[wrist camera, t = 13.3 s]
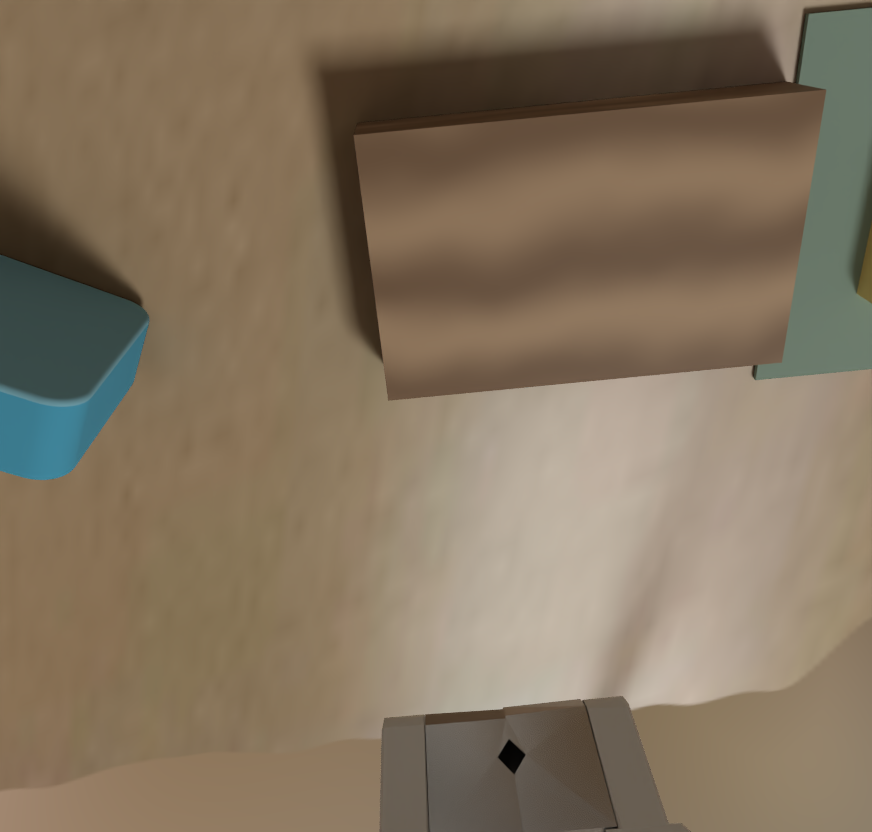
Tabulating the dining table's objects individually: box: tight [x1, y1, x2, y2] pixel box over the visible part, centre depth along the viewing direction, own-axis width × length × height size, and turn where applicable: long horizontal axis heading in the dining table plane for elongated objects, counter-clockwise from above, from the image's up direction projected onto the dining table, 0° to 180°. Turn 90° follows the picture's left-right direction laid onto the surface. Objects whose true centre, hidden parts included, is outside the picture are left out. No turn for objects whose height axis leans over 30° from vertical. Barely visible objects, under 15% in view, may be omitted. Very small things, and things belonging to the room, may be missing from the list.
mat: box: [754, 8, 872, 380], centre depth 41 cm, size 20×10×1 cm, turn 5°
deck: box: [354, 82, 826, 401], centre depth 39 cm, size 14×22×4 cm, turn 95°
